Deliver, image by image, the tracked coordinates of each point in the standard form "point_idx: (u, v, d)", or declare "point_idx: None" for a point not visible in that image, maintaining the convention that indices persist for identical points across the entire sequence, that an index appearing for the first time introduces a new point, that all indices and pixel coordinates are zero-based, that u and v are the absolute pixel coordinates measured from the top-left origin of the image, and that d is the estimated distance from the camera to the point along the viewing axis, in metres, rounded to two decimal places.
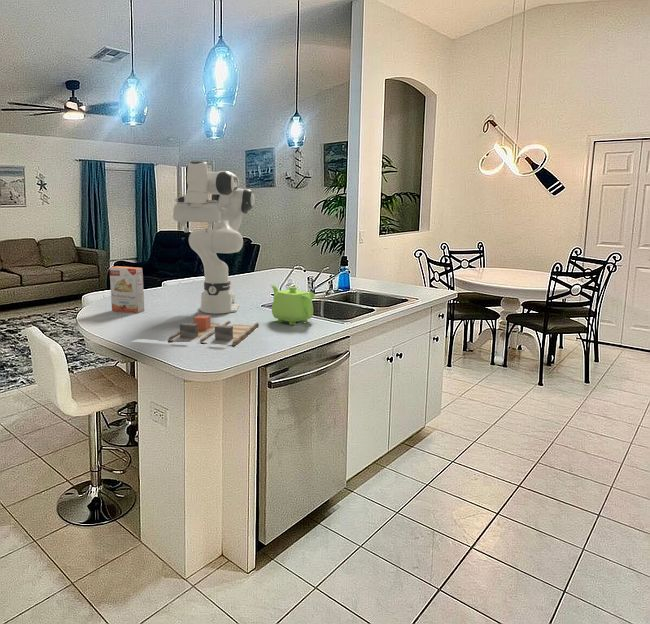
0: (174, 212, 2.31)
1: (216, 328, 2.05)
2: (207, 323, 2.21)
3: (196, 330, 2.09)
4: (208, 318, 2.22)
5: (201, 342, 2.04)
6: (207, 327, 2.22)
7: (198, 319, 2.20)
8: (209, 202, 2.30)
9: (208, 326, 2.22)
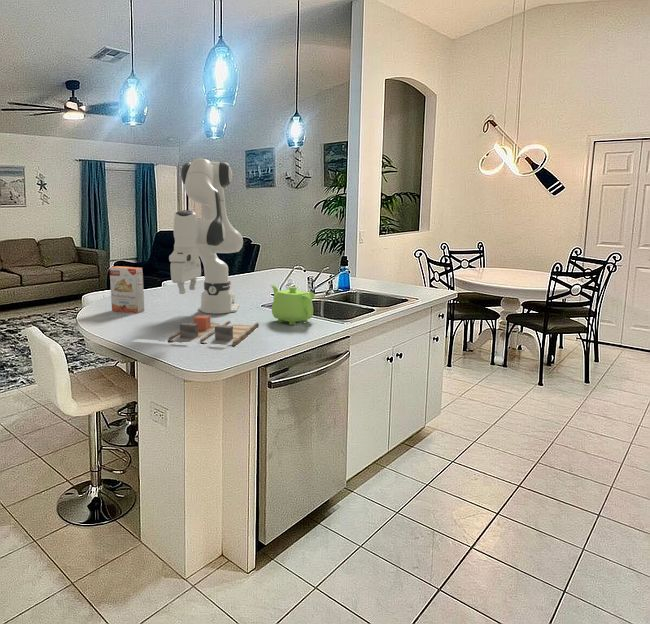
0: (182, 273, 1.95)
1: (216, 328, 2.05)
2: (207, 323, 2.21)
3: (196, 330, 2.09)
4: (208, 318, 2.22)
5: (201, 342, 2.04)
6: (207, 327, 2.22)
7: (198, 319, 2.20)
8: None
9: (208, 326, 2.22)
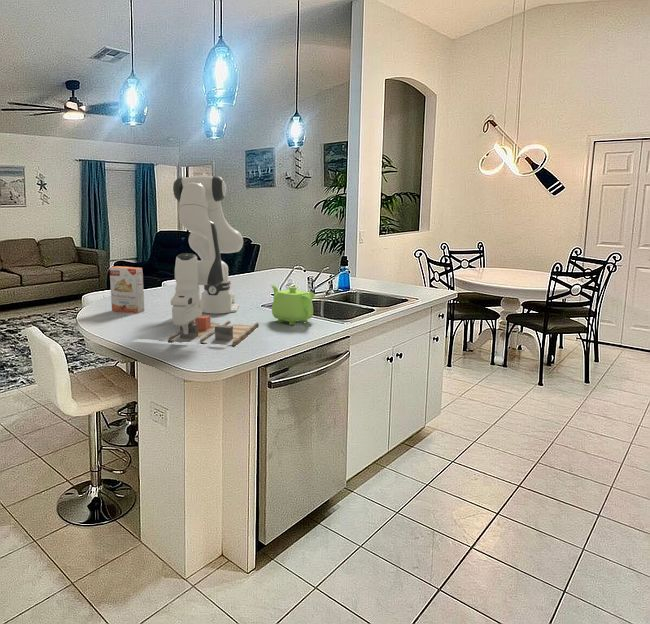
0: (183, 317, 1.98)
1: (216, 328, 2.05)
2: (207, 323, 2.21)
3: (196, 330, 2.09)
4: (208, 318, 2.22)
5: (201, 342, 2.04)
6: (207, 327, 2.22)
7: (198, 319, 2.20)
8: None
9: (208, 326, 2.22)
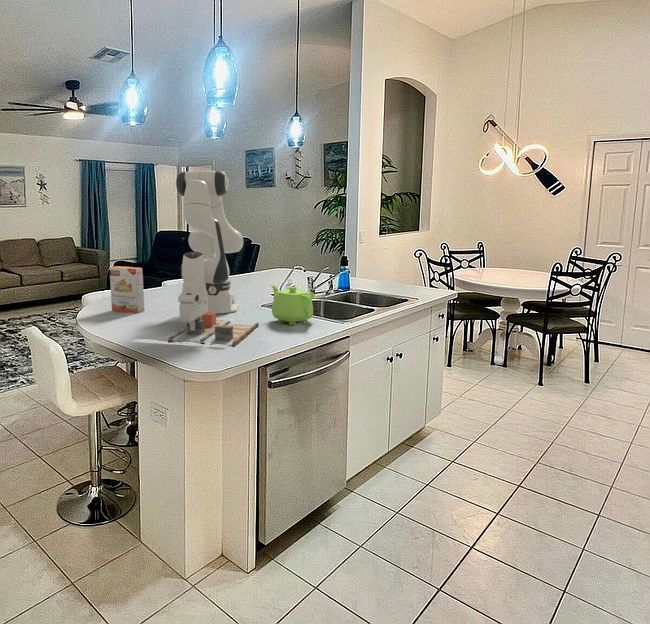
0: (190, 313, 2.05)
1: (216, 328, 2.05)
2: (213, 319, 2.28)
3: (202, 326, 2.15)
4: (214, 315, 2.29)
5: (201, 342, 2.04)
6: (213, 323, 2.28)
7: (204, 316, 2.26)
8: None
9: (213, 322, 2.29)
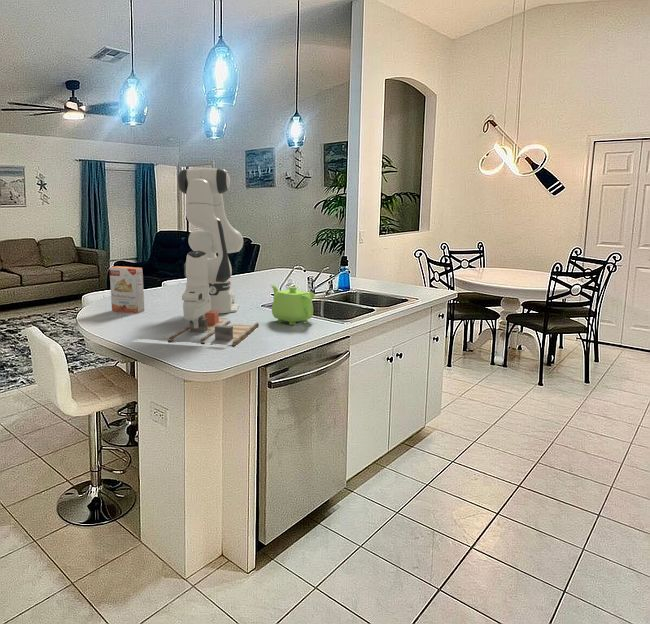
0: (194, 311, 2.08)
1: (216, 328, 2.05)
2: (216, 318, 2.31)
3: (206, 324, 2.18)
4: (216, 313, 2.32)
5: (201, 342, 2.04)
6: (216, 322, 2.31)
7: (207, 314, 2.29)
8: None
9: (216, 320, 2.32)
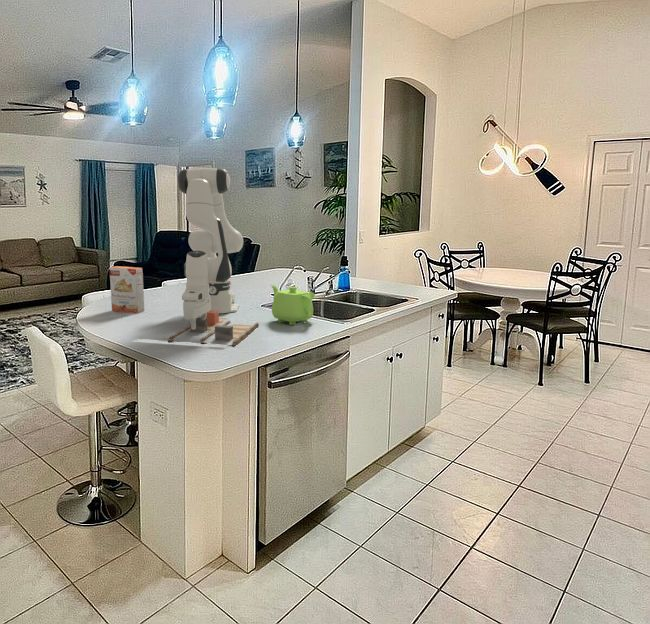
0: (194, 311, 2.08)
1: (216, 328, 2.05)
2: (216, 318, 2.31)
3: (206, 324, 2.18)
4: (217, 313, 2.32)
5: (201, 342, 2.04)
6: (216, 322, 2.31)
7: (207, 314, 2.30)
8: None
9: (216, 320, 2.32)
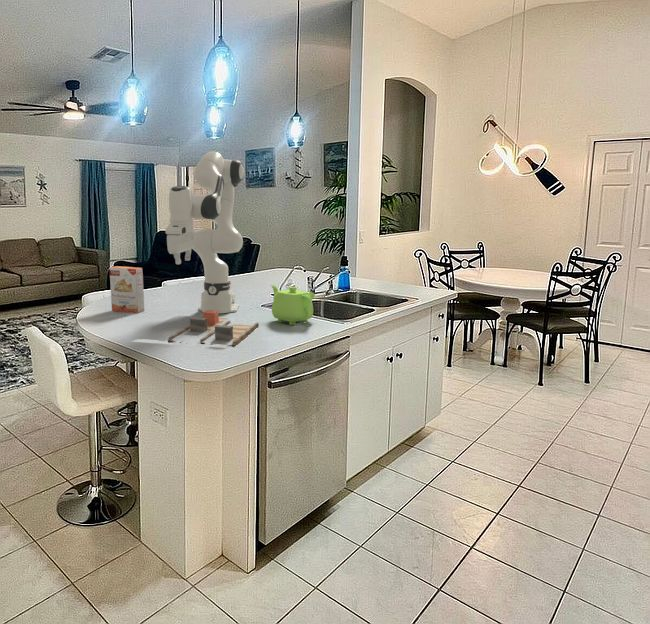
0: (178, 245, 2.10)
1: (216, 328, 2.05)
2: (216, 318, 2.31)
3: (206, 324, 2.18)
4: (217, 313, 2.32)
5: (201, 342, 2.04)
6: (216, 322, 2.31)
7: (207, 314, 2.30)
8: None
9: (216, 320, 2.32)
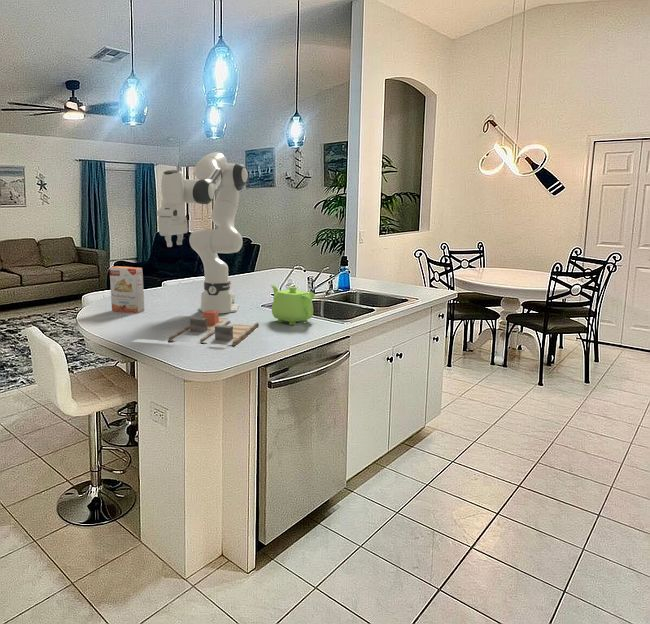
0: (169, 227, 2.12)
1: (216, 328, 2.05)
2: (216, 318, 2.31)
3: (206, 324, 2.18)
4: (217, 313, 2.32)
5: (201, 342, 2.04)
6: (216, 322, 2.31)
7: (207, 314, 2.30)
8: None
9: (216, 320, 2.32)
